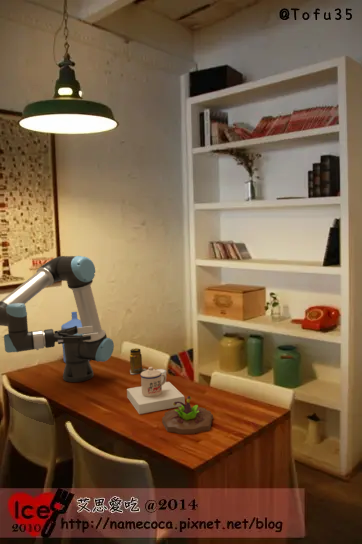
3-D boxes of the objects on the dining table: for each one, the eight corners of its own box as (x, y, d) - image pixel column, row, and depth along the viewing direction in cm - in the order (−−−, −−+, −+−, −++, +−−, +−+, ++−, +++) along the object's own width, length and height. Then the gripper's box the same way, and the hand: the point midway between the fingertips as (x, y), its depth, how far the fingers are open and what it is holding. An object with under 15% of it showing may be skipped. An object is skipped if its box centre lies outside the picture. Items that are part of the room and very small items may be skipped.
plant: (163, 436, 175) (161, 407, 174) (162, 414, 195) (160, 388, 193) (217, 433, 176) (215, 404, 175) (210, 411, 196) (209, 385, 194)
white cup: (169, 383, 230) (168, 369, 229) (164, 388, 223) (163, 373, 222) (155, 382, 232) (155, 368, 231) (150, 387, 225) (149, 372, 225)
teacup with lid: (148, 399, 200) (147, 372, 199) (137, 393, 208) (136, 367, 206) (172, 392, 207) (170, 366, 206) (160, 386, 215) (159, 361, 213)
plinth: (127, 397, 214) (126, 388, 213) (169, 389, 221) (168, 381, 220) (139, 414, 195) (138, 404, 195) (184, 405, 202) (184, 396, 202)
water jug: (57, 361, 272) (54, 313, 269) (80, 354, 284) (76, 308, 281) (74, 366, 262) (71, 316, 259) (97, 358, 274) (93, 311, 271)
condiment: (129, 370, 251) (128, 348, 250) (145, 368, 253) (144, 346, 251) (130, 374, 244) (129, 352, 243) (147, 373, 246) (145, 350, 244)
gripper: (42, 340, 208) (90, 334, 216) (47, 355, 185) (101, 348, 193) (40, 324, 208) (89, 318, 215) (46, 337, 184) (100, 330, 192)
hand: (95, 332), depth 204 cm, fingers open, 13 cm apart
